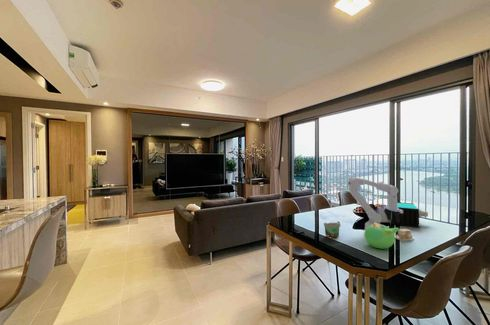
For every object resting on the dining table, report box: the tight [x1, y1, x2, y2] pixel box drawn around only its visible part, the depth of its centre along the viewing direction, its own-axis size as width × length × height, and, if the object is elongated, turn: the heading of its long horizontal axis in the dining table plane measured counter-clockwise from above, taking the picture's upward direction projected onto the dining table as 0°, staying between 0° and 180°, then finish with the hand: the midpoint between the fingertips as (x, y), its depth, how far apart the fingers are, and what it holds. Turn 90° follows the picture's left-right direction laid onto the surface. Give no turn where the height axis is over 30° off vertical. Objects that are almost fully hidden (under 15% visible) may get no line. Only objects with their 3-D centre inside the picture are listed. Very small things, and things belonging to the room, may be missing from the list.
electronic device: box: [390, 201, 429, 228], centre depth 182 cm, size 25×25×15 cm
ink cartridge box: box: [376, 204, 391, 223], centre depth 187 cm, size 10×6×14 cm, turn 78°
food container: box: [323, 221, 341, 239], centre depth 150 cm, size 12×6×10 cm, turn 105°
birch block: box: [397, 228, 412, 239], centre depth 146 cm, size 6×4×5 cm, turn 101°
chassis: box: [395, 234, 415, 242], centre depth 146 cm, size 10×6×2 cm, turn 101°
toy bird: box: [364, 222, 400, 250], centre depth 132 cm, size 18×17×15 cm
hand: (393, 221), depth 154 cm, fingers open, 7 cm apart
